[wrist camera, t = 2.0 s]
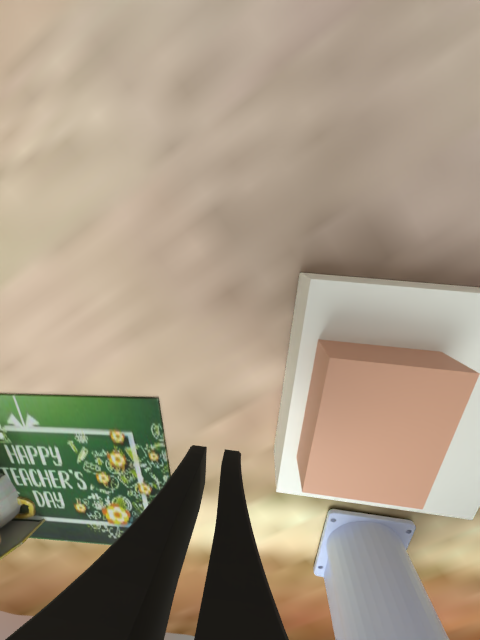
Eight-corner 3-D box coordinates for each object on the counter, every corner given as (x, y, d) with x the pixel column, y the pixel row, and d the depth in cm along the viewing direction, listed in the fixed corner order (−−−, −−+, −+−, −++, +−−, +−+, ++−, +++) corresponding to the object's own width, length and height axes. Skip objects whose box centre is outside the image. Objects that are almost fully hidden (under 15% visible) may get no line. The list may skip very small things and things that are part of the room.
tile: (398, 471, 16) (422, 509, 14) (296, 457, 17) (302, 492, 14) (441, 351, 13) (479, 373, 11) (318, 339, 14) (329, 357, 12)
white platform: (433, 469, 21) (472, 519, 17) (273, 448, 21) (276, 491, 18) (507, 289, 16) (584, 302, 12) (299, 272, 17) (310, 278, 13)
